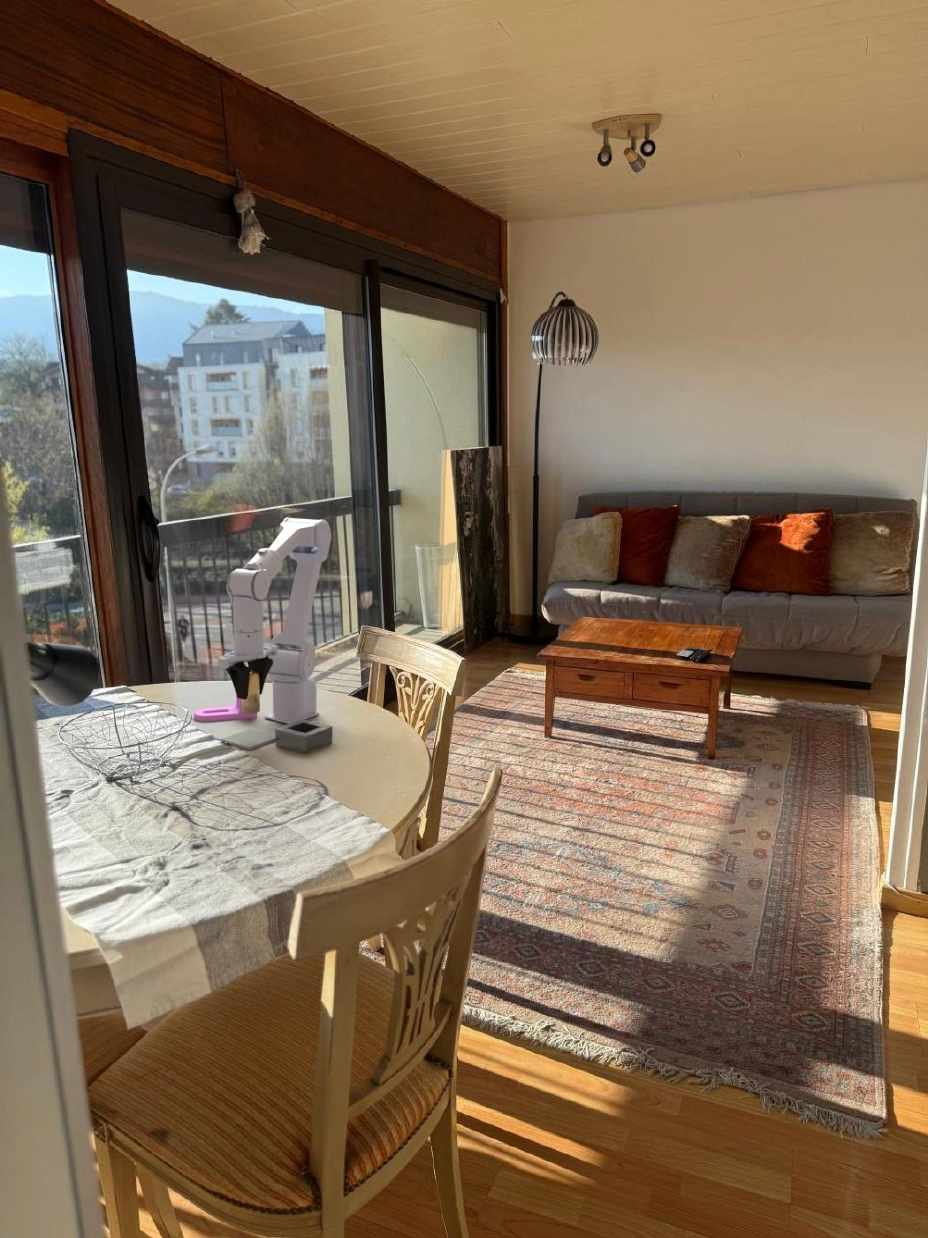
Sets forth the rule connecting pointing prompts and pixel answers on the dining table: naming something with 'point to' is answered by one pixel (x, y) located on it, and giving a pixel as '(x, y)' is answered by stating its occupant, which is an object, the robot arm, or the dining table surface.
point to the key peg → (252, 695)
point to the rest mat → (249, 739)
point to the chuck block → (303, 736)
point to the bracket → (222, 713)
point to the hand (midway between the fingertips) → (249, 696)
